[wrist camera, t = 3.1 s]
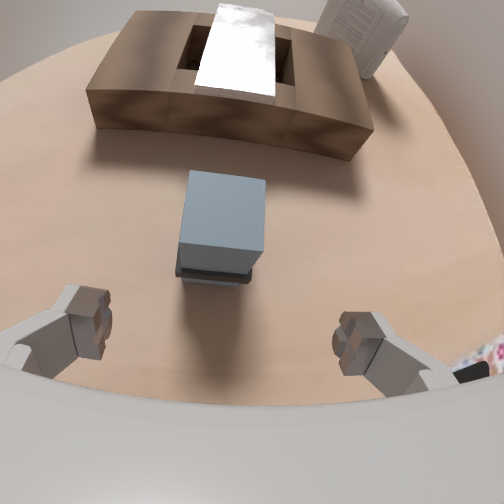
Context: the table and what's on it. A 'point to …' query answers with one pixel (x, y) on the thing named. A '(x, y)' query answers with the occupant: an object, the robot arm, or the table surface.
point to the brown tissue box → (227, 109)
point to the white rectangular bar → (239, 55)
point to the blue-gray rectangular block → (221, 229)
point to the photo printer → (364, 29)
